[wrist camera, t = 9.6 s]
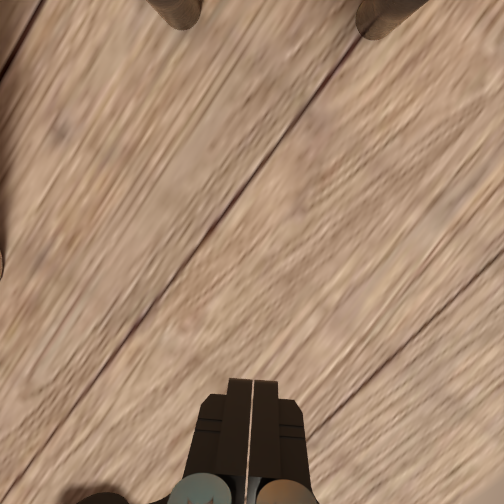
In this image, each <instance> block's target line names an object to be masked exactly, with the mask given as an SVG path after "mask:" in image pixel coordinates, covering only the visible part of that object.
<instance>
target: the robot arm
mask: <svg viewBox="0 0 504 504" xmlns="http://www.w3.org/2000/svg"><path fill="white" fill-rule="evenodd" d="M1 274H2V255H1V251H0V278H1ZM251 395H252V380H251V379H237V378H229V383H228V389H227V395H221V394H210V395H209V396H208V397H207V399H206V400H205V401H204V402H203V403H202V404H201V407H200V411H199V415H198V420H197V423H196V427H195V432H194V435H193V439H192V443H191V447H190V451H189V455H188V459H187V462H186V466H185V470H184V474H183V477H182V480H181V481H179V482H178V483H177V484H176V485H175V487H174V488H173V490H172V492H171V493H170V494H169V495H168V496H166V497H165V498H163V499H161V500H159V501H156V502H153V503H149V504H244V497H245V483H246V468H247V454H248V440H249V425H250V410H251ZM77 504H129V503H128V502H127V500H126V499H125V498H124V497H122V496H120V495H119V494H115V493H110V492H103V493H97V494H94V495H91V496H89V497H87V498H85V499H83V500H81V501H80V502H78V503H77ZM246 504H319V502H318V501H317V500H316V498H315V496H314V494H313V492H312V488H311V482H310V474H309V465H308V456H307V448H306V441H305V430H304V422H303V413H302V411H301V410H300V408H299V407H298V405H297V404H296V402H295V401H294V400H288V399H278V381H265V380H255V381H254V396H253V410H252V425H251V440H250V456H249V472H248V488H247V503H246Z"/></svg>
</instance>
